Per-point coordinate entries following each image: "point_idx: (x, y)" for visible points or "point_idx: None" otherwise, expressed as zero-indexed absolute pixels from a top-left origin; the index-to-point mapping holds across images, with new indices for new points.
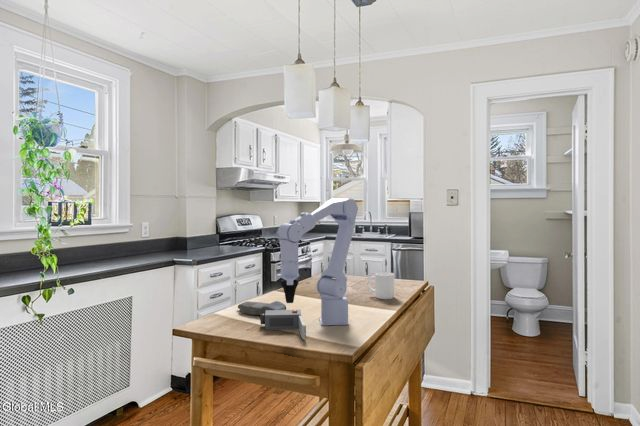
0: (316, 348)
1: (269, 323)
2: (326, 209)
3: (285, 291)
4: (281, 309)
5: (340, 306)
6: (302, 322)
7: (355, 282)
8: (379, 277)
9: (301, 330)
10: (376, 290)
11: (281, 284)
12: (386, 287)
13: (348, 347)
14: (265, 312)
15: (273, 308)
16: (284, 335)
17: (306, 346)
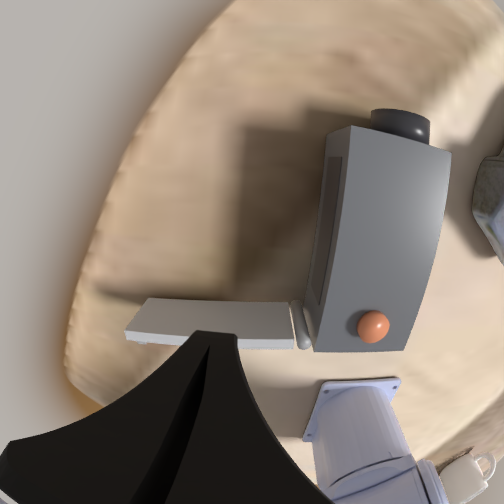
0: (85, 323)
1: (331, 157)
2: None
3: (117, 411)
4: (501, 250)
5: (323, 474)
6: (169, 340)
7: None
8: (467, 493)
9: (170, 313)
10: (466, 467)
11: (7, 450)
12: (449, 487)
13: (107, 395)
14: (411, 140)
15: (501, 212)
16: (224, 226)
17: (96, 298)
